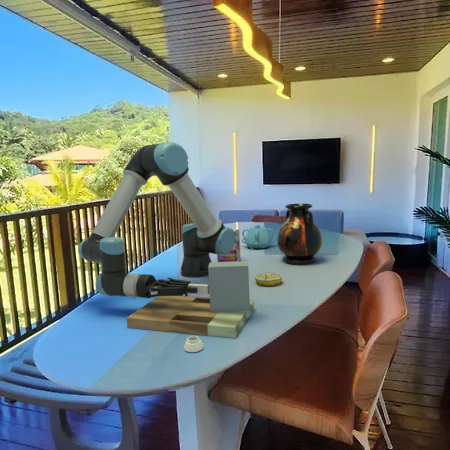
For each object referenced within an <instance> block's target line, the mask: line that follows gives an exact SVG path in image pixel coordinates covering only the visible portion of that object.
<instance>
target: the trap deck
mask: <svg viewBox="0 0 450 450" xmlns="http://www.w3.org/2000/svg"><path fill="white" fill-rule="evenodd" d="M254 310H255V300H252V299H250V311H225V312H211V310H210V296H193V295H188V296H185V295H183V296H157V297H154V298H153V299H152V300H150V301H149V302H148V303H145V305H143V306H141V307H140V308H138V309H137V310H136V311H135V312H133V313H131V314H130V315H129V316H127V317H126V328H129V329H138V328H139V329H140V330H152V331H157V332H158V331H160V332H169V333H170V332H171V333H180V334H181V333H182V334H188V335H189V334H190V335H201V336H208V337H209V336H211V337H221V338H230V339H236V338H237V336H238V335H239V333H240V332H241V330H242V329H243V327H244V326H245V324H246V323H247V321H248V320H249V318H250V316H251V315H252V314H253V312H254Z"/></svg>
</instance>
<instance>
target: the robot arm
mask: <svg viewBox="0 0 450 450" xmlns="http://www.w3.org/2000/svg"><path fill="white" fill-rule="evenodd" d="M188 160H189V156H188V153H187V151H186V150H185V149H184V147H183V146H182V145H180V144H179V143H177V142H173V141H170V142H169V141H164V142H160V143H154V144H146V145H144V146H141V147H140V148H139V149H138V150H137V151H136V152H134V153H133V155H132V157H131V158H130V159H129V161H128V162H127V163H126V166H125V168H124V169H123V171H122V174H123V177H122V179H120V182H119V184H118V185H117V187H116V189H115V191H114V193H113V194H112V196H111V198H110V200H109V202H108V203H107V205H106V207H105V208H104V210H103V213H102V214H101V216H100V217H99V220H98V222H97V223H96V225H95V226H94V228H93V230H92V232H91V233H90V235H89V236H88V238H87V239H84V240H82V241H81V242H80V243H79V245H78V249H77V250H78V254H79V256H80V258H82V259H84V260H86V261H88V262H92V263H97V264H100V265H101V271H102V272H100V273H99V274H98V275H97V276H96V282H95V289H96V291H97V293H98V294H101V295H105V296H109V297H113V296H114V297H129V298H131V297H132V299H135V298H142V299H151V298H156V297H158V296H189V295H188V294H193V295H206V296H208V295H210V291H209V284H201V283H191V281H190V280H183V279H175V278H172V277H168V278H167V280H166V279H162V278H159V279H157V278H156V277H155V276H154V275H153V274H144V273H143V274H142V273H128V272H127V270H126V269H127V268H126V258H125V257H126V256H125V255H126V254H125V247H124V246H125V245H124V239H123V238H121V237H119V236H116V234H117V232H118V230H119V228H120V227H121V225H122V223H123V222H124V219H125V217H126V216H127V213H128V212H129V210H130V209H131V207H132V204H133V203H134V202H135V200H136V197H137V196H138V194H139V192H140V190H141V188H142V186H145V185H147V182H148V181H149V179H151V178H152V177H154V176H155V177H157V178H158V180H159V181H160V183H161V184H162V185H163V186H165V187H169V189H170V190H171V192H172V193H173V195H174V196H175V198H176V199H177V201H178V202H179V203H180V205H181V206H182V208H183V209H184V211H185V213H186V214H187V216H188V217H189V219H190V220H191V221H192V222H191V223H186V224H183V226H182V227H181V228H182V229H181V239H182V250H183V259H182V263H181V267H180V274H181V276H182V277H188V278H200V277H201V278H202V277H205V276H206V277H207V276H209V273H208V266H209V263H210V262H213V261H212V259H211V256H210V254H213V255H217V254H218V255H226V254H228V253H230V252H231V250H232V249H233V247H234V244H235V233H234V231H233V228H232V227H228V226H227V227H226V226H225V225H224V223H223V222H222V220H221V219H220V218H218V217H215V215H214V213H213V212H212V210H211V209H210V208H209V206H208V205H207V203H206V201H205V199H204V198H203V196H202V194H201V193H200V191H199V190H198V188H197V186H196V185H195V183H194V181H192V178H191V177H190V175H189V170H190V169H189V161H188Z"/></svg>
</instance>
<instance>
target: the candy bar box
mask: <svg viewBox="0 0 450 450" xmlns="http://www.w3.org/2000/svg"><path fill="white" fill-rule="evenodd" d="M232 229H233V228H232ZM233 231H234V233H235V244H234V247H233V249H232V250H231V252H230V253H228V254H226V255H218V254H216V255H217V262H235V261H242V260H241V245H240V244H241V240H240V239H241V238H240V229H233Z"/></svg>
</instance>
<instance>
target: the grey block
mask: <svg viewBox="0 0 450 450" xmlns="http://www.w3.org/2000/svg"><path fill="white" fill-rule="evenodd" d="M208 273H209V275H208V285H209V292H210V293H209V297H210V310H211V312H225V311H250V300H251V299H250V279H249V278H250V277H249V274H250V273H249V261H248V260H241V261H235V262H218V261H217V262H216V261H214V262H213V261H212V262H210V263H209V266H208Z"/></svg>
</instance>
